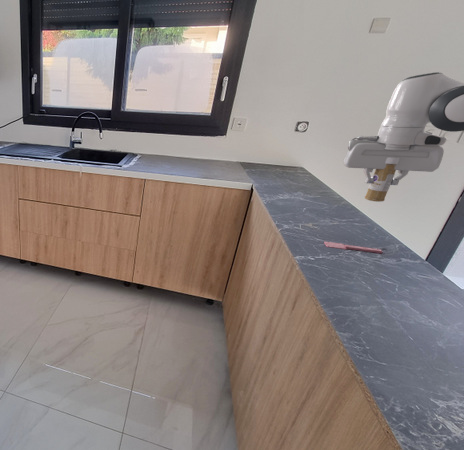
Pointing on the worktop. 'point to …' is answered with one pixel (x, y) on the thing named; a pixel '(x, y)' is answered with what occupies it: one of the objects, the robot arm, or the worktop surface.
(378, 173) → the sprinkles bottle
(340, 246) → the spatula
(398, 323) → the worktop surface
